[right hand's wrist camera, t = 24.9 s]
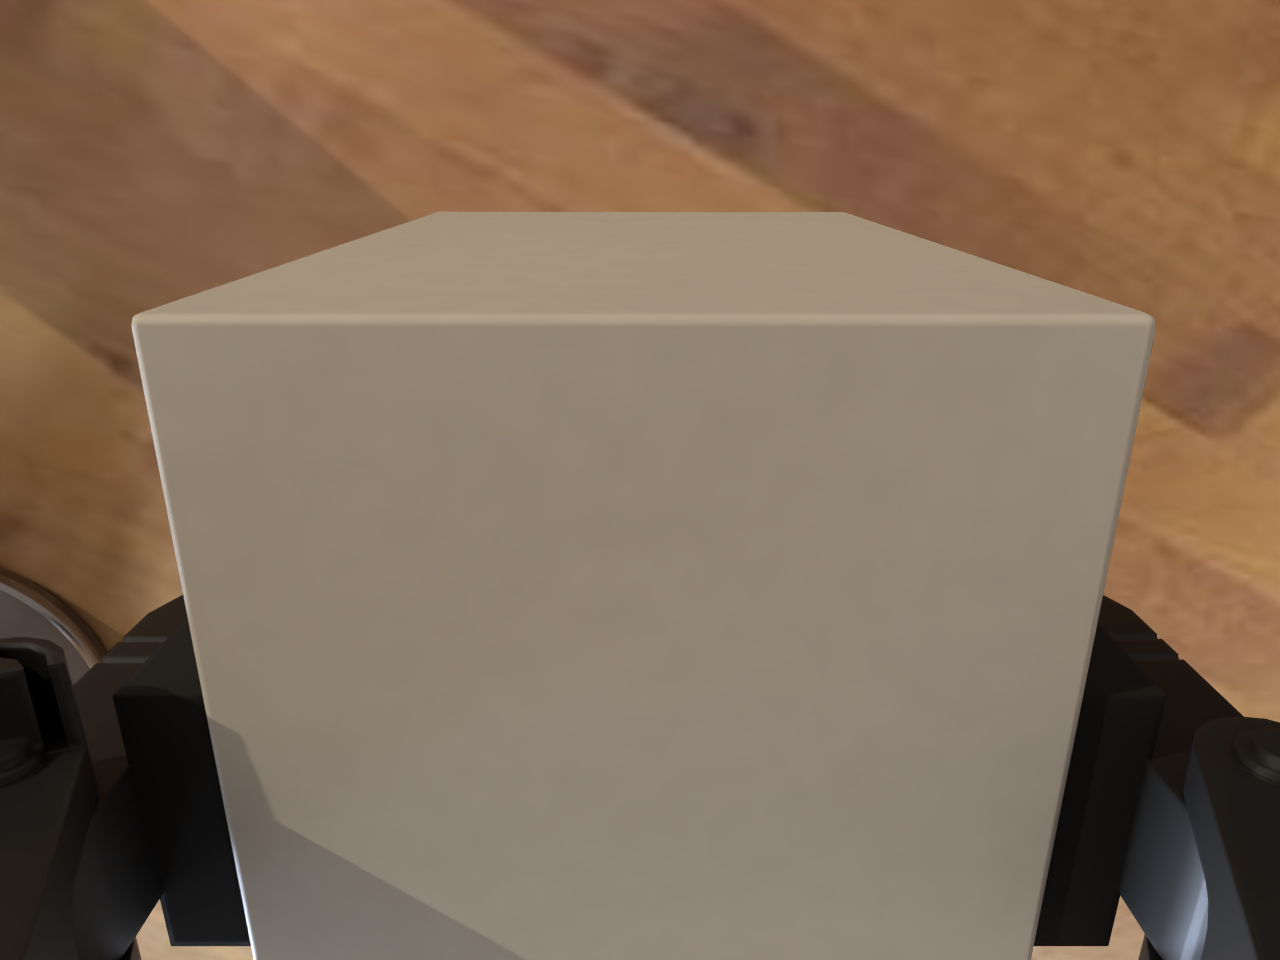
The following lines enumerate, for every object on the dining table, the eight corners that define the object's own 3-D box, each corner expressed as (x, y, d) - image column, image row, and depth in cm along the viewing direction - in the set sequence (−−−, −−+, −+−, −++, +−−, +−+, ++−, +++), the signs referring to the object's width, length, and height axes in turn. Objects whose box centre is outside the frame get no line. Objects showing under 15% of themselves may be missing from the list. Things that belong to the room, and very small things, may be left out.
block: (847, 211, 16) (1164, 314, 6) (812, 665, 19) (988, 1192, 9) (434, 211, 16) (123, 314, 6) (468, 665, 19) (295, 1193, 9)
